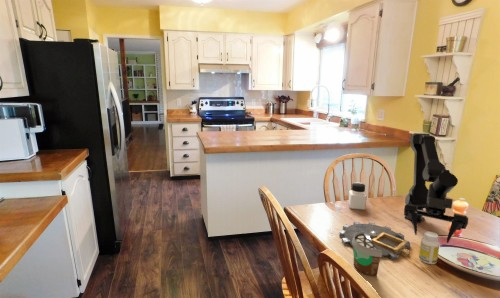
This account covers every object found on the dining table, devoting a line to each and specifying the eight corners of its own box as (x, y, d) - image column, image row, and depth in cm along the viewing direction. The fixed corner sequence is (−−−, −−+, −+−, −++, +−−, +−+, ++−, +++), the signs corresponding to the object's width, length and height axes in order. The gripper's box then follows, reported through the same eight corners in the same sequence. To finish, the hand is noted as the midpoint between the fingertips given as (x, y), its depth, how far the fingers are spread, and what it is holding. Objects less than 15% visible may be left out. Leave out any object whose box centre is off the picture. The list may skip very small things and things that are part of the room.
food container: (343, 257, 100) (346, 231, 98) (360, 256, 100) (363, 230, 98) (360, 280, 88) (363, 251, 86) (379, 279, 88) (382, 250, 86)
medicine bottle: (365, 209, 138) (367, 186, 136) (350, 208, 140) (352, 185, 137) (362, 204, 145) (365, 181, 142) (348, 202, 146) (350, 180, 144)
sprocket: (359, 219, 128) (360, 212, 127) (420, 242, 109) (422, 234, 109) (326, 238, 112) (327, 230, 111) (391, 269, 93) (392, 259, 93)
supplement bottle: (434, 257, 100) (438, 231, 98) (438, 266, 95) (443, 239, 93) (417, 254, 102) (420, 229, 100) (420, 262, 97) (424, 236, 95)
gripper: (408, 182, 103) (400, 222, 96) (472, 193, 93) (469, 238, 86) (407, 196, 111) (400, 233, 104) (466, 207, 101) (463, 250, 94)
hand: (431, 238), depth 97 cm, fingers open, 9 cm apart
